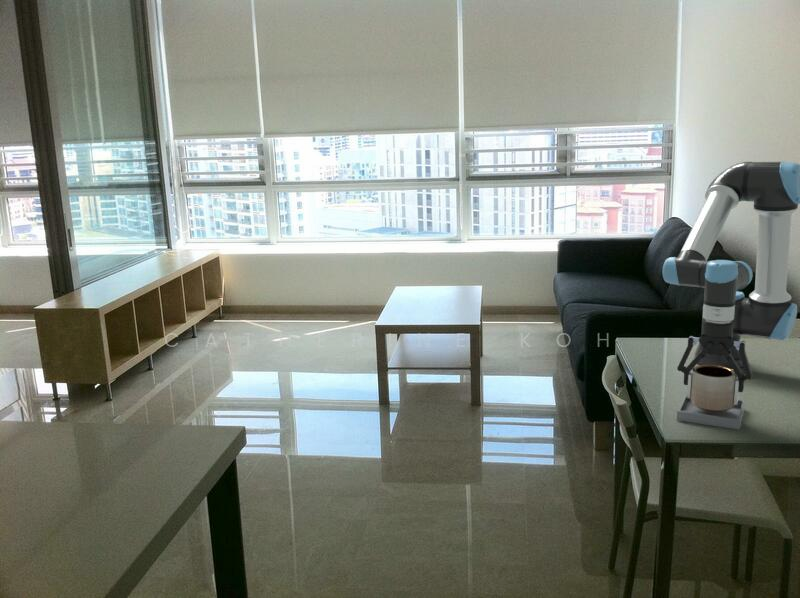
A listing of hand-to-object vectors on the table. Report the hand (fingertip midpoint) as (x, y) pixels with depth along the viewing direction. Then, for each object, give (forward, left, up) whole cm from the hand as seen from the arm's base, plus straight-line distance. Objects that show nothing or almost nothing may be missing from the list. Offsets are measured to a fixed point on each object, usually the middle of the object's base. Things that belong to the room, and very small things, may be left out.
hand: (712, 399), depth 198 cm
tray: (0, 0, -4) cm, 4 cm away
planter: (0, 0, -2) cm, 2 cm away
